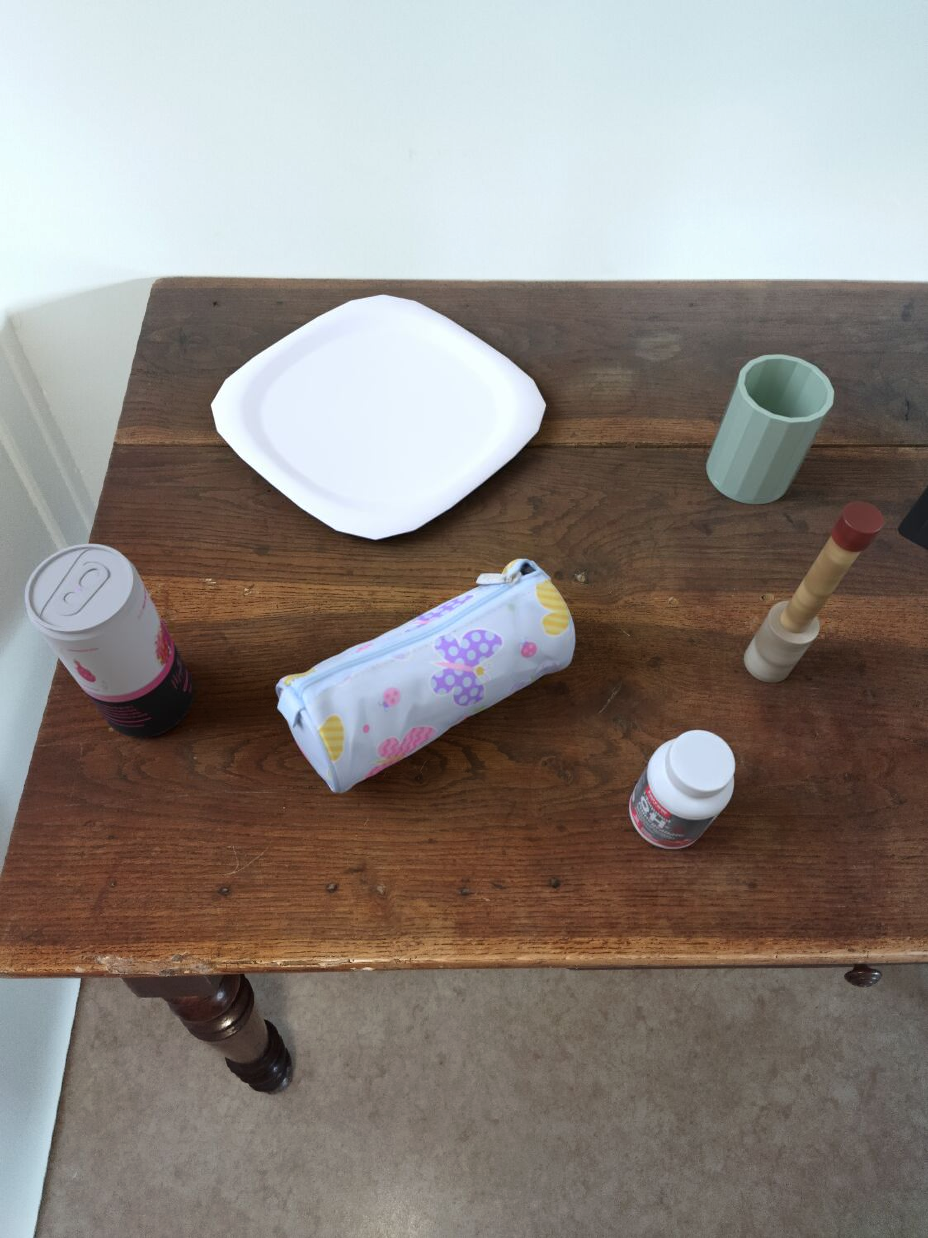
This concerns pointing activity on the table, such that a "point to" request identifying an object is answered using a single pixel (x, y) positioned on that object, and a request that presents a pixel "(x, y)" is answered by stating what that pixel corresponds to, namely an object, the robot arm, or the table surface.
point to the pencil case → (427, 674)
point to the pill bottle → (683, 789)
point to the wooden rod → (810, 596)
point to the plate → (378, 415)
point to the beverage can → (110, 638)
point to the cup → (768, 428)
